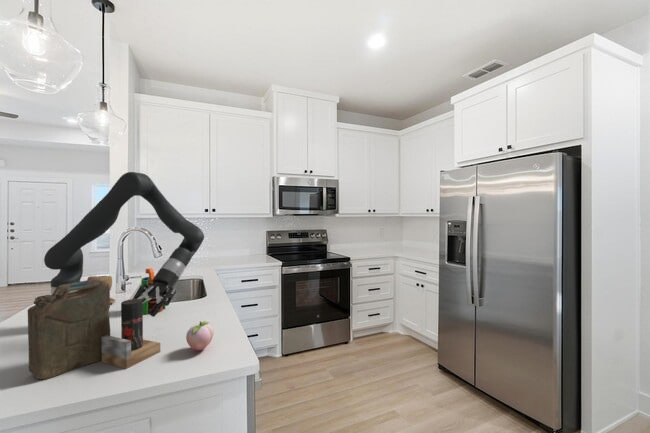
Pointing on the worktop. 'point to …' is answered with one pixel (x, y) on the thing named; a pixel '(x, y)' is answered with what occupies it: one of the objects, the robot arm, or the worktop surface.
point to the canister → (68, 327)
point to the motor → (148, 304)
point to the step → (126, 351)
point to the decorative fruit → (199, 335)
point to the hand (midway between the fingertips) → (142, 313)
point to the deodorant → (132, 322)
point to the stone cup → (106, 279)
